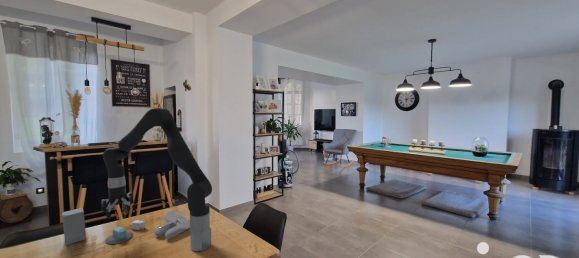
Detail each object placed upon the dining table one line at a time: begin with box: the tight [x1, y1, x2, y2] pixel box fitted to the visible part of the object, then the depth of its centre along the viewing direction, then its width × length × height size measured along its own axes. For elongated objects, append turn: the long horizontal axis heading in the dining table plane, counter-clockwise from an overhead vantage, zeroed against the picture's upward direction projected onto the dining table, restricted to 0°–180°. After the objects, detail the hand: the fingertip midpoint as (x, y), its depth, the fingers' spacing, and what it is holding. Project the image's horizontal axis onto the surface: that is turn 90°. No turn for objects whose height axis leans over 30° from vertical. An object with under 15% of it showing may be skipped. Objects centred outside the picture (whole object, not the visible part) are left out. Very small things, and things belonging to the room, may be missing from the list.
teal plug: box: [111, 226, 127, 241], centre depth 127 cm, size 10×4×4 cm, turn 60°
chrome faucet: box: [154, 210, 190, 240], centre depth 137 cm, size 18×7×20 cm
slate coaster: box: [104, 231, 134, 245], centre depth 128 cm, size 12×12×1 cm
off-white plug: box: [129, 219, 146, 231], centre depth 139 cm, size 9×3×4 cm, turn 80°
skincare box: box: [61, 207, 87, 246], centre depth 125 cm, size 8×7×16 cm
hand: (118, 215), depth 127 cm, fingers open, 8 cm apart
